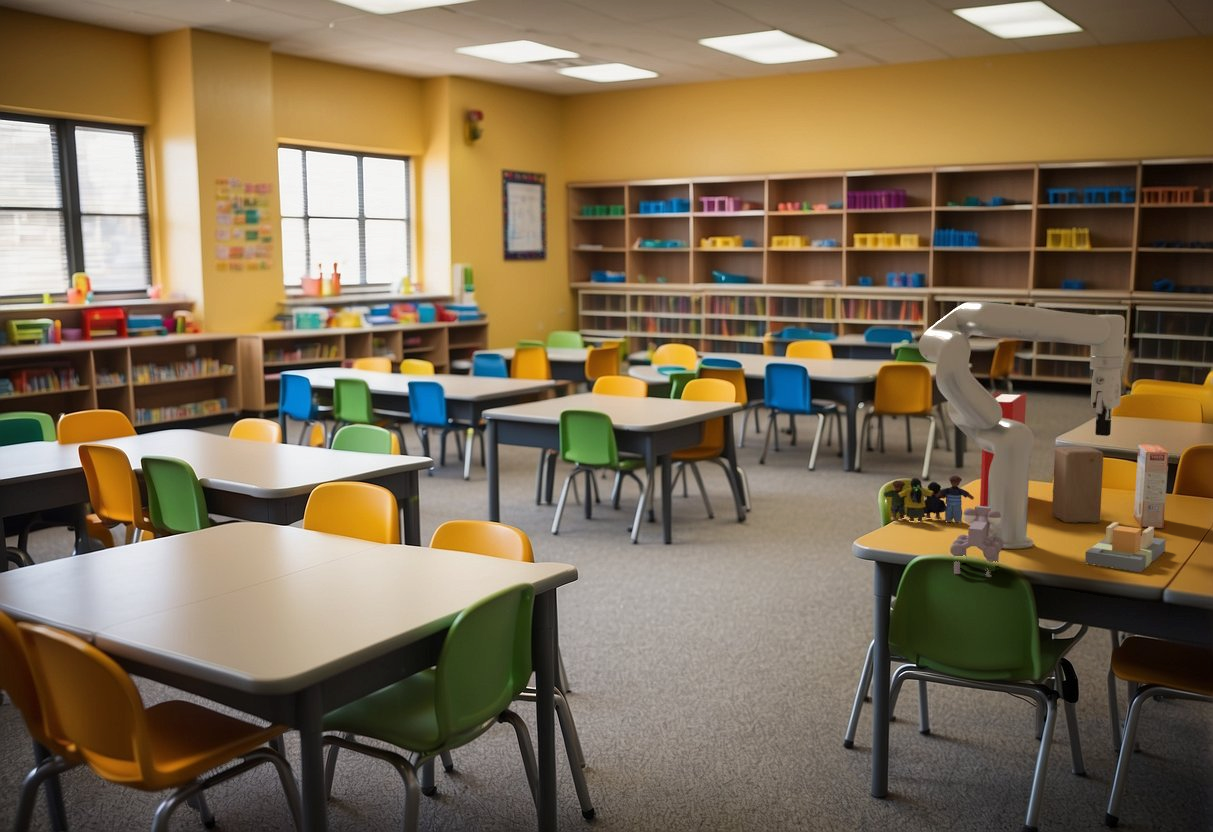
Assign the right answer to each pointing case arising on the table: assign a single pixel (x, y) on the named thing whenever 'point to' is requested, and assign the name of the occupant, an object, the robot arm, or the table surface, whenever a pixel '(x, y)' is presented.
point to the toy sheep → (978, 535)
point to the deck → (1124, 560)
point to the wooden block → (1077, 484)
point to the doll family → (927, 500)
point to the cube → (1126, 539)
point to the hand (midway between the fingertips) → (1102, 434)
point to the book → (1011, 410)
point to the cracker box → (1151, 485)
